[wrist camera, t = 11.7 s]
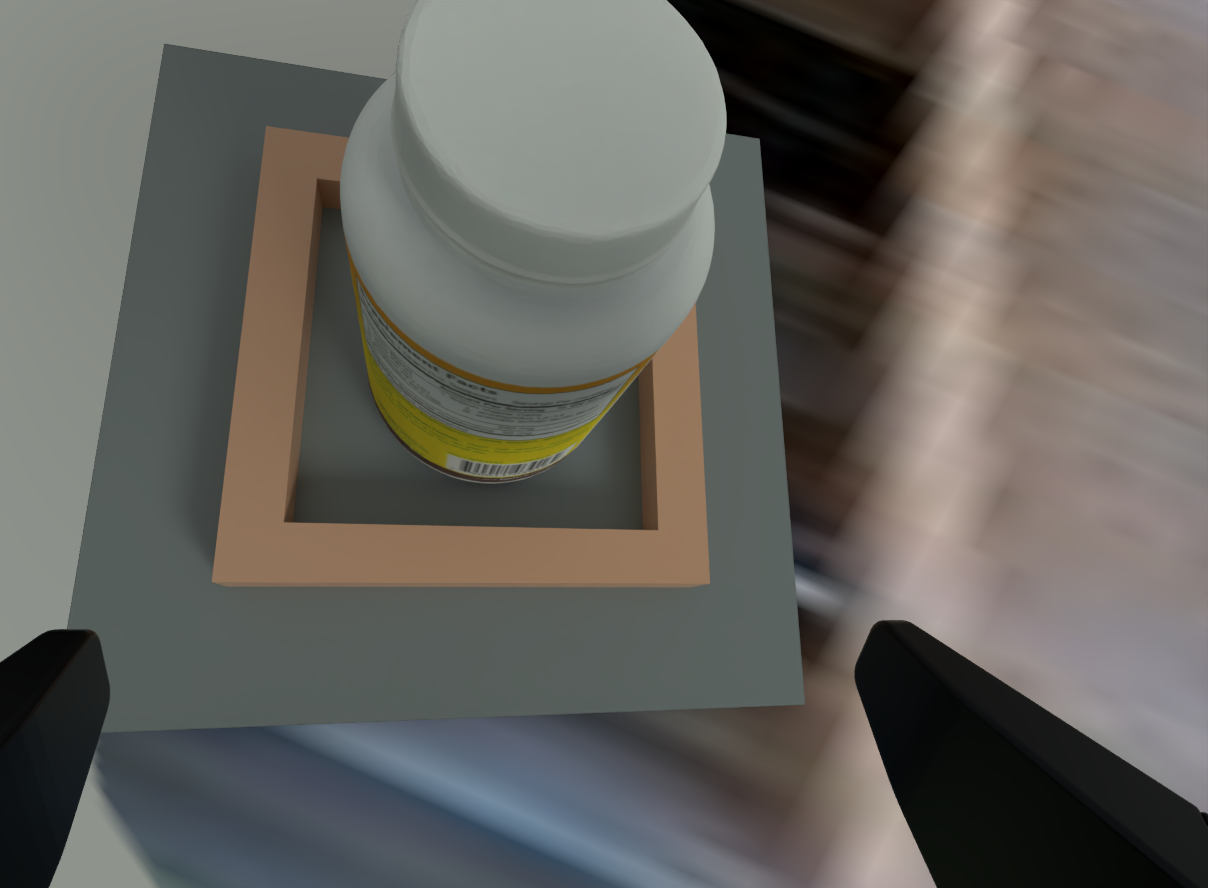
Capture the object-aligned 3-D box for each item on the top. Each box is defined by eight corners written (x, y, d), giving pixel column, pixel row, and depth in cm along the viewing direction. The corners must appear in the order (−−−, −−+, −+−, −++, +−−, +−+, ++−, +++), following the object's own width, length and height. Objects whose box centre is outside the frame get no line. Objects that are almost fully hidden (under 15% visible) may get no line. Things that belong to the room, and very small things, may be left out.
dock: (789, 701, 19) (831, 708, 17) (67, 730, 15) (18, 742, 13) (747, 155, 23) (778, 111, 21) (173, 67, 19) (148, 4, 17)
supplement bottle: (487, 234, 19) (566, -178, 10) (640, 386, 19) (874, 125, 10) (315, 370, 17) (197, 22, 8) (485, 539, 17) (585, 405, 8)
